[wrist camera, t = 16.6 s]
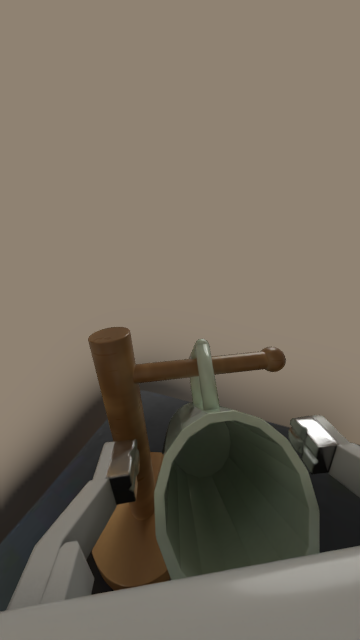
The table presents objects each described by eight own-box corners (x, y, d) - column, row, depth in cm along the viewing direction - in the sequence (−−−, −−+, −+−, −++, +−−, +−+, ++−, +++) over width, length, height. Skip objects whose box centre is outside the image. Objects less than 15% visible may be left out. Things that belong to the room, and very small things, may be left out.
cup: (239, 474, 16) (349, 609, 6) (169, 484, 16) (159, 649, 6) (218, 358, 20) (264, 322, 10) (160, 364, 20) (146, 333, 9)
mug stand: (74, 608, 13) (-52, 395, 7) (109, 466, 21) (68, 317, 15) (296, 567, 14) (359, 350, 8) (244, 447, 22) (255, 301, 16)
